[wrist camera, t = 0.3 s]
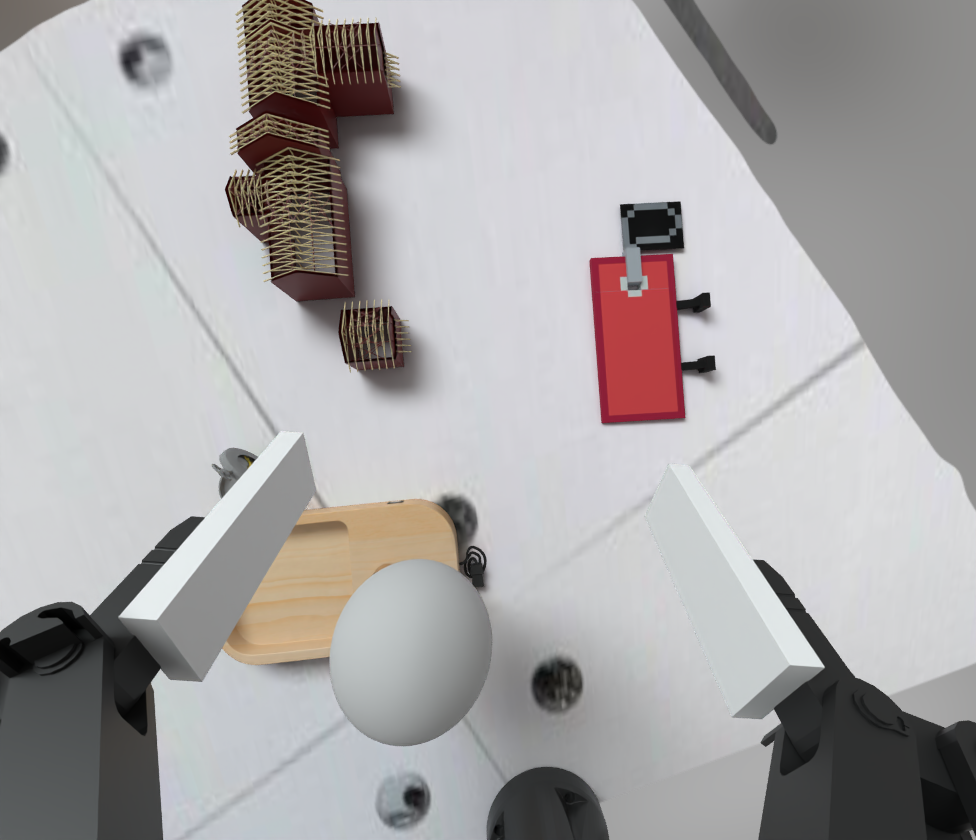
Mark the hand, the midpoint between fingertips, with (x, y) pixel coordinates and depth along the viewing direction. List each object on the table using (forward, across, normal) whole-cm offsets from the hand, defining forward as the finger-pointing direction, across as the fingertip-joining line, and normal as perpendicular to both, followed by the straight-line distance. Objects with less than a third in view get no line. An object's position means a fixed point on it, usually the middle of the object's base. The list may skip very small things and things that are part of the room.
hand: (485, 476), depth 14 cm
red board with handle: (+42, -22, +4) cm, 47 cm away
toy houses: (+47, +22, -3) cm, 52 cm away
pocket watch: (+25, +28, +26) cm, 46 cm away
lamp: (+19, +14, +35) cm, 42 cm away
